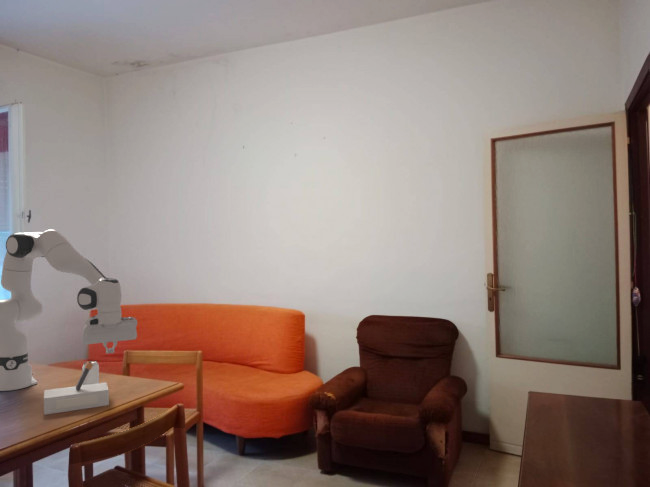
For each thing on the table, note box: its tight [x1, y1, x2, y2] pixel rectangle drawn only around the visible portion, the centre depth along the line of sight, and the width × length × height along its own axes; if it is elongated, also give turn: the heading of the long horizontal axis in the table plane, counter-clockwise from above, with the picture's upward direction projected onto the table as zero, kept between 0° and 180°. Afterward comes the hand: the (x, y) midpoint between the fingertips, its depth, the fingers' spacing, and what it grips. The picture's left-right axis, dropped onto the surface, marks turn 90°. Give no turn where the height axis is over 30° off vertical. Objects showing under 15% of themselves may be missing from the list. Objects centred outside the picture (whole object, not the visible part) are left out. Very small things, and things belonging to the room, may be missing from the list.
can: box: [81, 360, 100, 385], centre depth 212 cm, size 6×6×12 cm
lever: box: [75, 361, 93, 391], centre depth 194 cm, size 4×2×11 cm, turn 29°
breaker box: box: [43, 382, 110, 416], centre depth 192 cm, size 12×22×6 cm, turn 119°
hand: (110, 352), depth 198 cm, fingers closed
